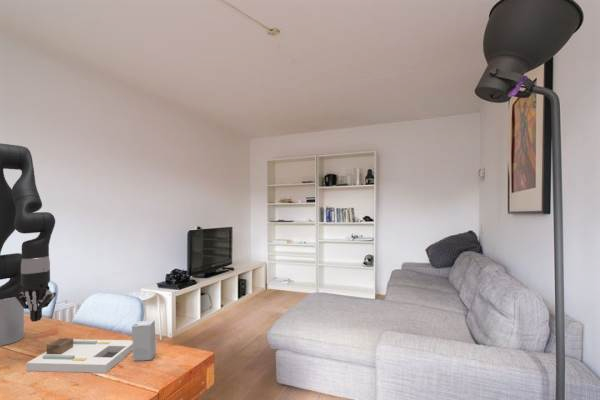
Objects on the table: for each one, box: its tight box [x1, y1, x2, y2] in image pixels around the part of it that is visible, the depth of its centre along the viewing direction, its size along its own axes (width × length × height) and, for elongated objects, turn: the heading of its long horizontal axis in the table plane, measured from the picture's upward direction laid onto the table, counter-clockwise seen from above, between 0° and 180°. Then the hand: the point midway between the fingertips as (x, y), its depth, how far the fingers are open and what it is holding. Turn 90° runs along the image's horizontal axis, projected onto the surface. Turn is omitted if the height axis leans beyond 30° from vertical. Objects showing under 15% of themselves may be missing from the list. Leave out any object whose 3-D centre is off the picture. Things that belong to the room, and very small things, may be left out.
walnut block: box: [46, 337, 74, 354], centre depth 101 cm, size 5×5×3 cm
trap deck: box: [25, 338, 133, 374], centre depth 101 cm, size 26×16×3 cm, turn 87°
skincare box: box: [131, 320, 157, 362], centre depth 101 cm, size 6×4×12 cm
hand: (36, 320), depth 101 cm, fingers closed
